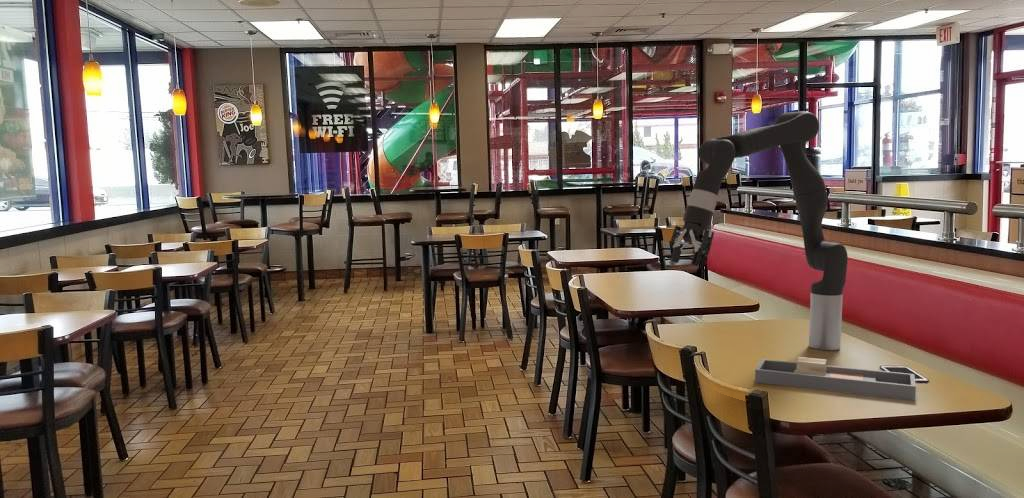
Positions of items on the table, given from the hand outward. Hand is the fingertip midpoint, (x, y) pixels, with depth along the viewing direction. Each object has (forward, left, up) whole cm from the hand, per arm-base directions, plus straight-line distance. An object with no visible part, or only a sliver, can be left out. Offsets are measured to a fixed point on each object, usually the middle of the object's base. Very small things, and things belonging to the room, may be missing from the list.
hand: (684, 263), depth 216 cm
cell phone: (-19, +56, -31) cm, 67 cm away
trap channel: (-2, +39, -30) cm, 50 cm away
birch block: (-2, +34, -28) cm, 44 cm away
